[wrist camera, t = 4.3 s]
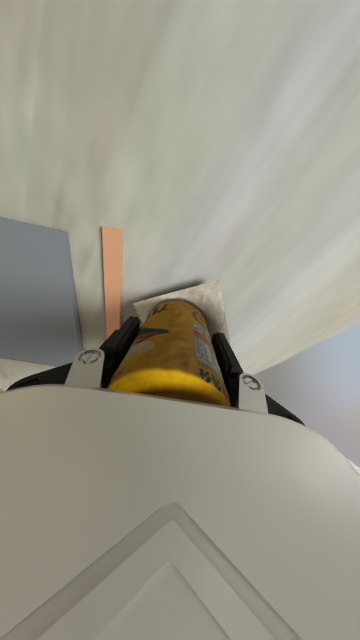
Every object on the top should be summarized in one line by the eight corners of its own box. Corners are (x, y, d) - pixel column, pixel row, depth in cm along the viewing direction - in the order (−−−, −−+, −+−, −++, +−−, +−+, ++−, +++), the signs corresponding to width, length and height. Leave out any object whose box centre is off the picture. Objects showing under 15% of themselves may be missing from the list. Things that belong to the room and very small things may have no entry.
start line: (104, 226, 12) (101, 226, 11) (121, 230, 12) (120, 230, 11) (109, 376, 19) (108, 378, 19) (120, 377, 19) (118, 380, 19)
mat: (-84, 199, 11) (-97, 196, 11) (67, 232, 12) (61, 230, 11) (-9, 352, 18) (-15, 355, 17) (85, 367, 19) (82, 370, 18)
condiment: (133, 302, 13) (-75, 508, 3) (219, 278, 12) (496, 479, 1) (158, 358, 16) (110, 557, 6) (229, 343, 15) (339, 560, 4)
